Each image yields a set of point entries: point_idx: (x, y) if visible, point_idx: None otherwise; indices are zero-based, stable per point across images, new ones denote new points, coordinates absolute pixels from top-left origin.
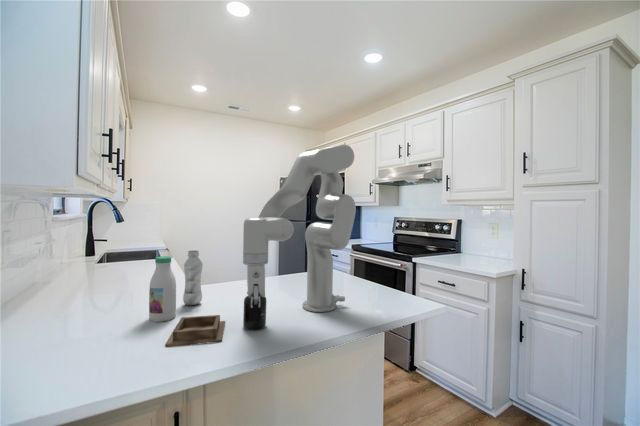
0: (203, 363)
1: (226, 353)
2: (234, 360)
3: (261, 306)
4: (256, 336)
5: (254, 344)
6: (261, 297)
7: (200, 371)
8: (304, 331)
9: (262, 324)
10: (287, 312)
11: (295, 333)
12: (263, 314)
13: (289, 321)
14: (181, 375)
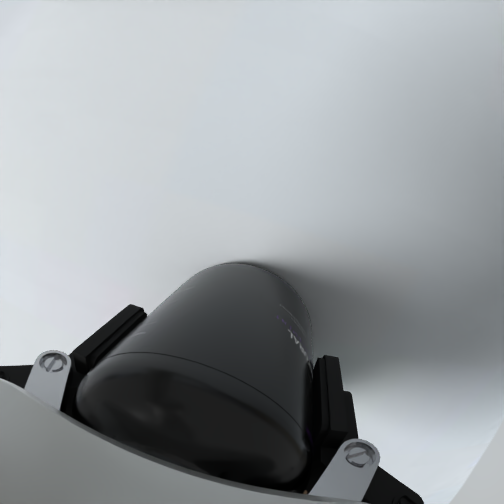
0: (442, 478)
1: (439, 446)
2: (489, 425)
3: (307, 417)
4: (383, 350)
5: (451, 369)
6: (249, 481)
7: (467, 475)
8: (439, 68)
9: (303, 311)
10: (91, 71)
11: (450, 128)
12: (297, 341)
13: (240, 81)
14: (451, 494)
